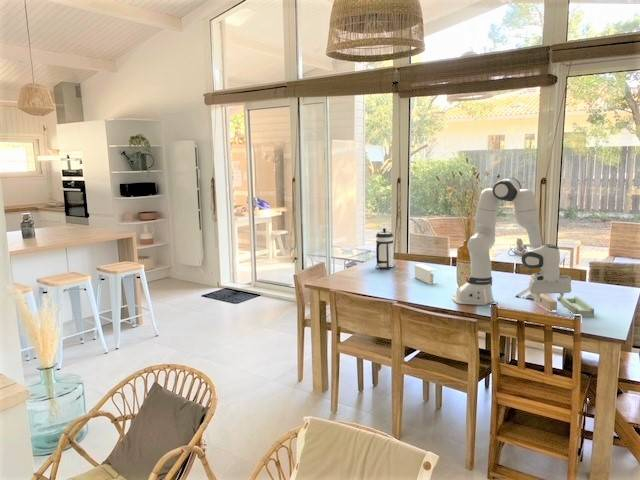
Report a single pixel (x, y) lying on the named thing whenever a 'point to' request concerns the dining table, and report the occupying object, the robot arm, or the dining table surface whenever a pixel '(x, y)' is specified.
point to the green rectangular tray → (577, 306)
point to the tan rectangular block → (547, 302)
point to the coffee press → (384, 249)
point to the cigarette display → (424, 273)
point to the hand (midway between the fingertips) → (549, 301)
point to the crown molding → (527, 295)
